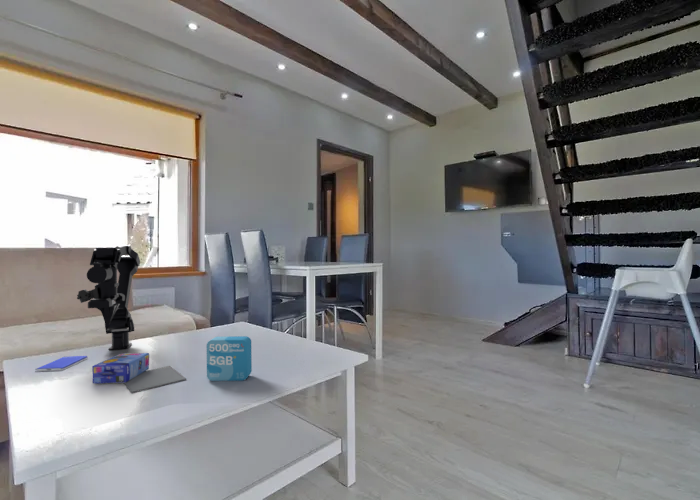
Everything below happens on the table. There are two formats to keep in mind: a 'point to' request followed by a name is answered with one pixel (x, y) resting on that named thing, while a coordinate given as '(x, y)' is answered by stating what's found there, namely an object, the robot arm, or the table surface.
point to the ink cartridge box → (120, 368)
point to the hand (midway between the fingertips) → (107, 324)
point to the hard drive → (62, 363)
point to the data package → (229, 358)
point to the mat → (154, 379)
